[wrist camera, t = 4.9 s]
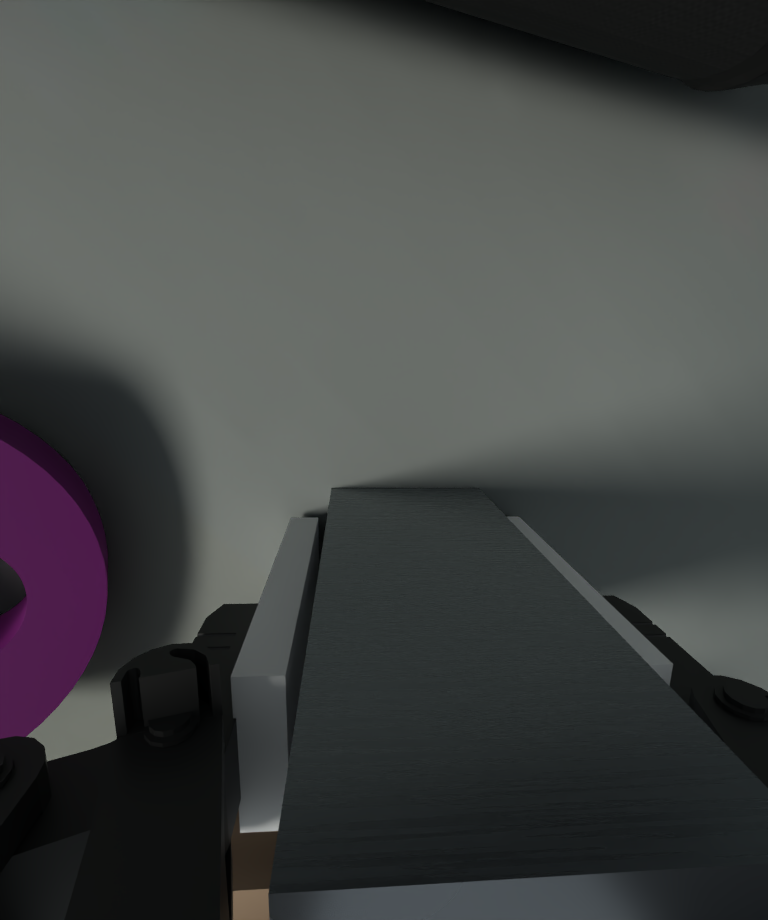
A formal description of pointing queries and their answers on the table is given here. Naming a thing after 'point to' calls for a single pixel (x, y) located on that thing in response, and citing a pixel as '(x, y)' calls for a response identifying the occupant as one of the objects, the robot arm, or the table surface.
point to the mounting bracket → (46, 578)
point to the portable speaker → (649, 34)
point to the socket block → (252, 872)
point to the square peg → (494, 742)
